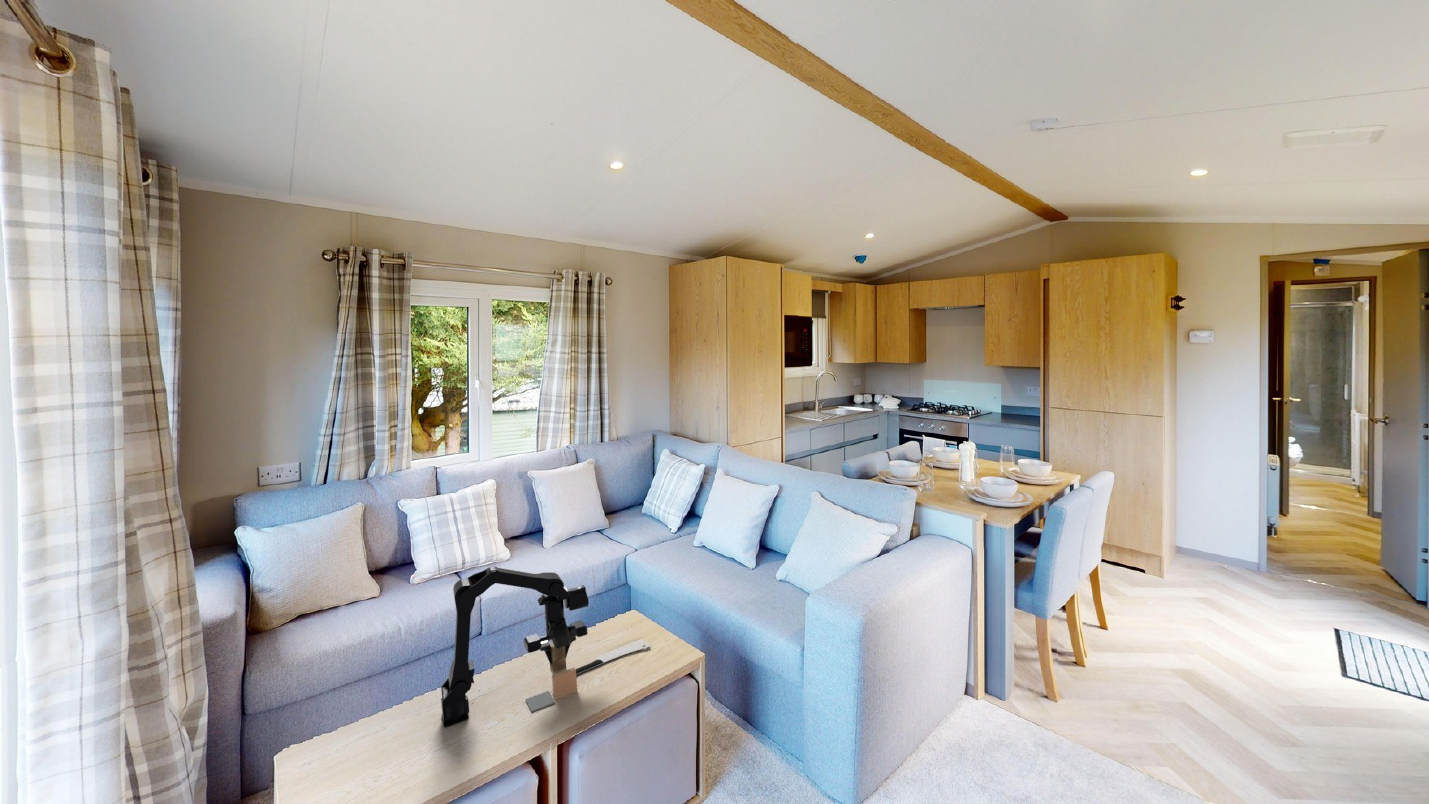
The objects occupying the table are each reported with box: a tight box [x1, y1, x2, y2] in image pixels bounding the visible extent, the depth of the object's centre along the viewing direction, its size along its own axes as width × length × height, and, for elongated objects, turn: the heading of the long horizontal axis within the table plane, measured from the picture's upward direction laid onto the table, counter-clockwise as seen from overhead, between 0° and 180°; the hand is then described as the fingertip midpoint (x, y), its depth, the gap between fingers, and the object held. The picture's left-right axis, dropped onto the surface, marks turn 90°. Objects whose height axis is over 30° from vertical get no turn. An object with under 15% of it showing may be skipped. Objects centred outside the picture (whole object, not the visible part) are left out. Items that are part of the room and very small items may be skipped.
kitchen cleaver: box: [575, 638, 651, 677], centre depth 186 cm, size 31×2×10 cm
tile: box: [551, 667, 578, 700], centre depth 167 cm, size 7×2×7 cm, turn 123°
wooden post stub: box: [548, 641, 568, 675], centre depth 171 cm, size 4×4×9 cm
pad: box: [525, 690, 556, 713], centre depth 163 cm, size 7×7×1 cm
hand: (557, 661), depth 171 cm, fingers closed on wooden post stub, 4 cm apart
